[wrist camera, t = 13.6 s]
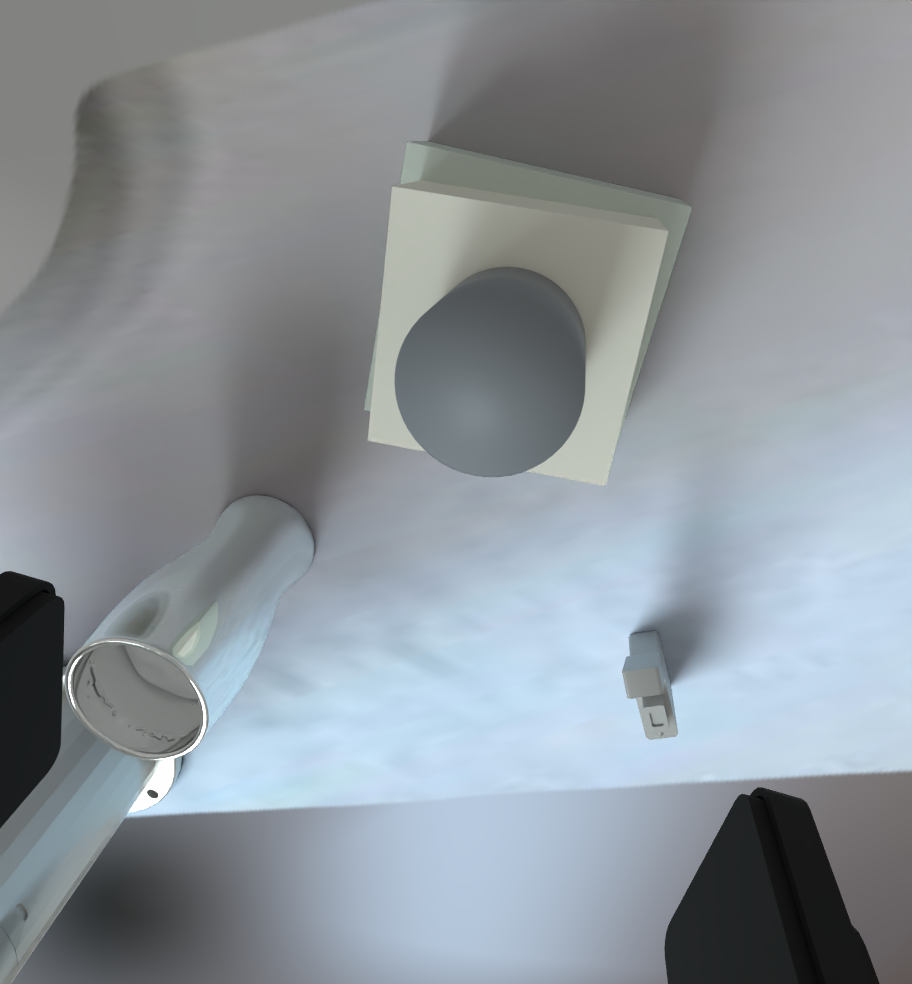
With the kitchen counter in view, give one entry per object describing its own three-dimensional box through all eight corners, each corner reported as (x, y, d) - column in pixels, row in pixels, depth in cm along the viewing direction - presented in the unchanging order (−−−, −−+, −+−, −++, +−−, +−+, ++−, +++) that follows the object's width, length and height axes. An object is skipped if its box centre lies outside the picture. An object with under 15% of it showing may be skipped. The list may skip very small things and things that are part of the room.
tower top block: (603, 443, 36) (605, 486, 31) (395, 404, 37) (367, 440, 32) (657, 218, 32) (668, 231, 27) (419, 180, 32) (391, 186, 28)
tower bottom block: (606, 434, 41) (608, 471, 36) (388, 380, 42) (363, 410, 37) (679, 198, 36) (692, 207, 31) (429, 141, 36) (406, 141, 32)
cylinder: (569, 434, 31) (566, 492, 25) (421, 409, 31) (386, 459, 26) (600, 279, 28) (603, 305, 23) (439, 255, 29) (404, 275, 23)
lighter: (671, 686, 46) (685, 786, 39) (642, 690, 47) (651, 790, 40) (647, 587, 44) (658, 674, 37) (617, 592, 44) (622, 679, 37)
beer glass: (193, 548, 48) (38, 709, 34) (241, 465, 45) (91, 605, 31) (289, 609, 48) (173, 789, 35) (342, 531, 46) (238, 695, 32)
